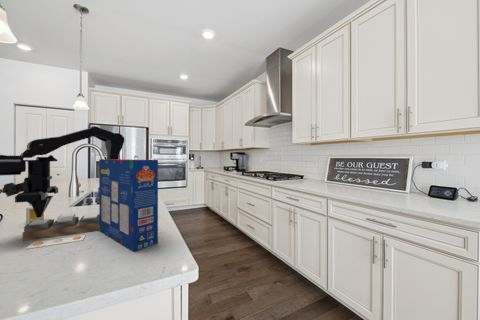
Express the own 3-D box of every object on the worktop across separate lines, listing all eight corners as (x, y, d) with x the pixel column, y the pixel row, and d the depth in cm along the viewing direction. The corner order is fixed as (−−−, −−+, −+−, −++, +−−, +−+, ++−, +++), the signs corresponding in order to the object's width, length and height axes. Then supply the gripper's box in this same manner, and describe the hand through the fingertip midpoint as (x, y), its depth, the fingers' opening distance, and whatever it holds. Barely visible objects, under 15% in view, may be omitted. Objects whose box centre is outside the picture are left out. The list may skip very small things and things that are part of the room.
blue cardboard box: (157, 243, 67) (157, 159, 67) (133, 252, 61) (133, 159, 60) (121, 225, 84) (121, 159, 84) (99, 231, 78) (99, 159, 78)
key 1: (50, 224, 76) (50, 219, 76) (45, 228, 72) (45, 222, 72) (34, 226, 74) (34, 220, 74) (28, 230, 70) (28, 224, 70)
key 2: (98, 219, 83) (98, 213, 83) (96, 222, 79) (96, 216, 79) (85, 220, 81) (85, 215, 81) (82, 223, 77) (82, 218, 77)
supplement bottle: (47, 220, 91) (47, 199, 91) (33, 224, 85) (33, 201, 85) (36, 220, 91) (36, 198, 91) (22, 224, 86) (22, 201, 86)
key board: (101, 225, 85) (101, 213, 85) (99, 230, 79) (99, 218, 79) (31, 234, 74) (31, 221, 74) (22, 241, 68) (22, 227, 68)
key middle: (75, 218, 79) (75, 213, 79) (72, 221, 76) (72, 216, 76) (60, 220, 77) (60, 214, 77) (57, 223, 73) (57, 217, 73)
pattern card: (85, 235, 73) (85, 234, 73) (82, 240, 69) (82, 239, 69) (33, 243, 67) (33, 241, 67) (26, 249, 62) (26, 247, 62)
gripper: (20, 173, 77) (20, 213, 77) (-10, 177, 61) (-10, 228, 61) (58, 172, 82) (58, 210, 82) (40, 175, 66) (40, 223, 66)
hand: (39, 217), depth 73 cm, fingers closed
